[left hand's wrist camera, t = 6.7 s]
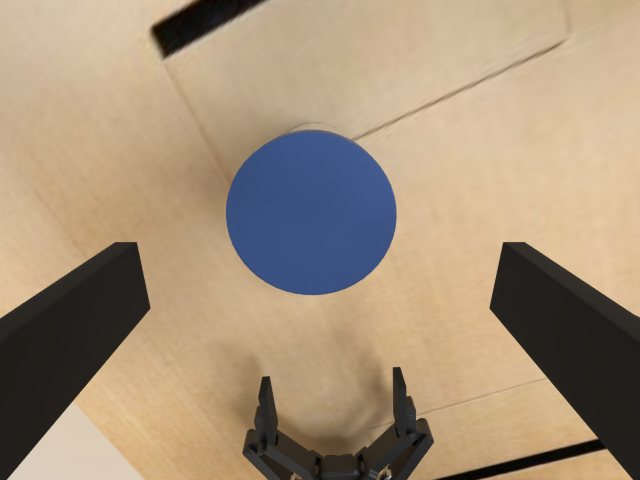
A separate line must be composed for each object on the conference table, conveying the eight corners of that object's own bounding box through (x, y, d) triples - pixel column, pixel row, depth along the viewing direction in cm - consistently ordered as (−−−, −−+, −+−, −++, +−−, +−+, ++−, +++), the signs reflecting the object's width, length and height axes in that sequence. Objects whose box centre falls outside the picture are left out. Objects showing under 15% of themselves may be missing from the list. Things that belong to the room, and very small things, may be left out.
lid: (305, 302, 23) (303, 322, 21) (203, 200, 20) (190, 211, 18) (419, 218, 21) (430, 230, 18) (321, 92, 18) (321, 90, 16)
